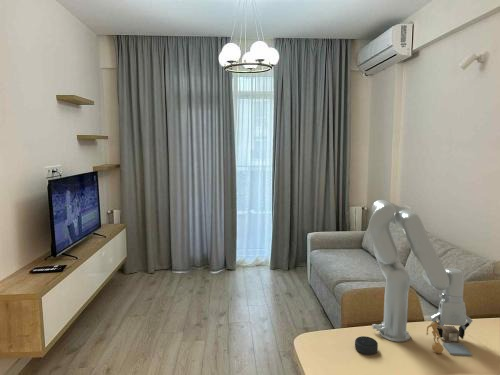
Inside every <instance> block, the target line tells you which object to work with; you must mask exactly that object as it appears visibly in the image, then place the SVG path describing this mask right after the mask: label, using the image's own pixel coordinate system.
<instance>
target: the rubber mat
mask: <svg viewBox="0 0 500 375" xmlns="http://www.w3.org/2000/svg"><path fill="white" fill-rule="evenodd" d="M442 346H443V348H444V349H445V350H446V351H447V353H448V354H449V355H451V356H467V357H472V356H473V353H471V351H470V350H469V349H468V348H467V347H466V345H464V344H463V343H455V342H442Z"/></svg>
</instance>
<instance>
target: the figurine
mask: <svg viewBox="0 0 500 375" xmlns="http://www.w3.org/2000/svg"><path fill="white" fill-rule="evenodd" d="M437 322H438V321H437ZM437 322H433V321H432V322H430V324H429V325H428V326H427V327H426V335H429V333H428V332H429V328H432V331H431V333H432V336H433V342H434V343H433V344H432V345H431V349H432V351H433V352H434V353H435V354H442V353H443V351H444V346H443V344H442V343H441V342H440V340H439V339H440V335H439V332H438V331H437V328H438V326H439V327H441V328H442V326H440V325H438V324H437ZM442 330H443V331H444V329H443V328H442ZM444 333H445V331H444ZM436 340H437V341H436Z"/></svg>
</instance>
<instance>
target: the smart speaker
mask: <svg viewBox="0 0 500 375" xmlns="http://www.w3.org/2000/svg"><path fill="white" fill-rule="evenodd" d="M378 346H379V344H378V342H377V340H375V339H374V338H373V337H369V336H358V337H357V338H355V340H354V348H355V350H356V351H357V352H359V353H360V354H362V355H375V354H376V353H377V352H378V349H379V348H378Z"/></svg>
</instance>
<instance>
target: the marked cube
mask: <svg viewBox="0 0 500 375" xmlns="http://www.w3.org/2000/svg"><path fill="white" fill-rule="evenodd" d="M442 328H443V329H444V331H445V333H444V331H443V334H442V339H443V340H444V341H445V343H456V344H460V343H459V342H460V336H459V329H457V327H455V325H443V327H442Z"/></svg>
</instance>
